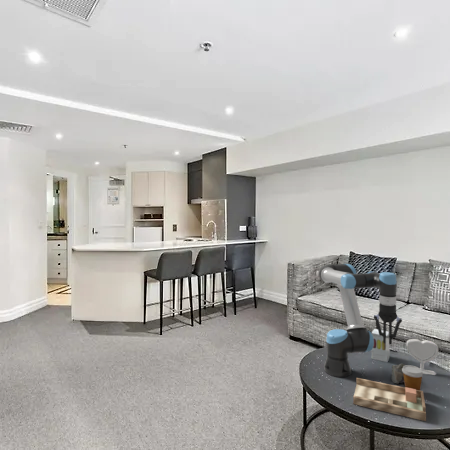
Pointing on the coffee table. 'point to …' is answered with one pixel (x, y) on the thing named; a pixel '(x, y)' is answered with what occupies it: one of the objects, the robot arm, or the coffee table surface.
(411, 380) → the disposable coffee cup
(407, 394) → the terracotta block
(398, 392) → the box
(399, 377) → the mineral rock
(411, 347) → the heart sculpture
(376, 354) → the supplement box
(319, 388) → the coffee table surface
